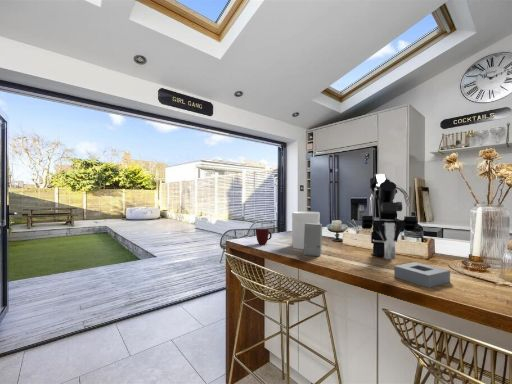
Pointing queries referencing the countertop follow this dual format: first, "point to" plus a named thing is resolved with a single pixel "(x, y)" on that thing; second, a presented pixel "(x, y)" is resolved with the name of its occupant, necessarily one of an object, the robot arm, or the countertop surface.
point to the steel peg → (389, 240)
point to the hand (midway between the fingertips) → (390, 240)
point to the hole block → (422, 274)
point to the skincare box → (313, 239)
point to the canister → (302, 226)
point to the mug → (263, 235)
